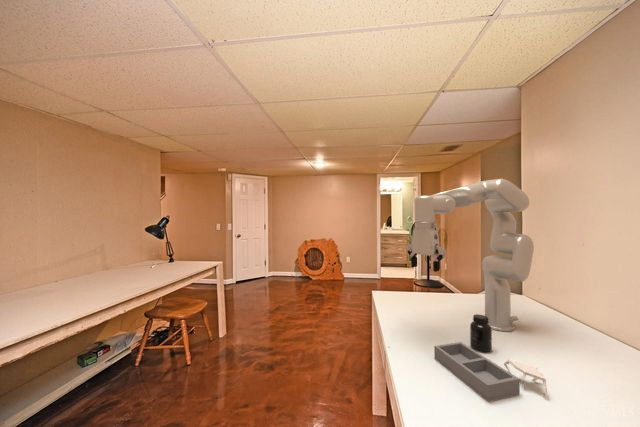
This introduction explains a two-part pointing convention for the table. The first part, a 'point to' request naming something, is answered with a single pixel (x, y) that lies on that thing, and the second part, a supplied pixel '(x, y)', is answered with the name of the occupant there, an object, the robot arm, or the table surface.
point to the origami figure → (528, 373)
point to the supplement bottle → (481, 334)
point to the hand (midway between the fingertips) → (424, 268)
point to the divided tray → (477, 371)
